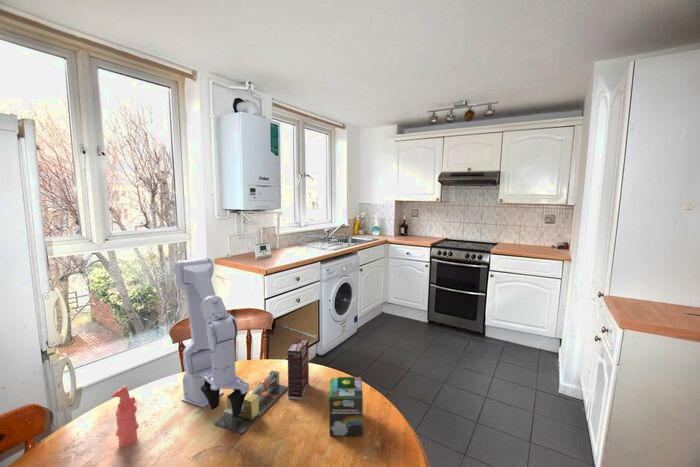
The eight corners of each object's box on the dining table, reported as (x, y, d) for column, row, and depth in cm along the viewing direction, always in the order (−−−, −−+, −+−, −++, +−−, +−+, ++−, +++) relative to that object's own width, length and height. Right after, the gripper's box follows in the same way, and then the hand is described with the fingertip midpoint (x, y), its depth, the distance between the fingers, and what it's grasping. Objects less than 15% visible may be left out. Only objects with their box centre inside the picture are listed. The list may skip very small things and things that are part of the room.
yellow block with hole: (252, 420, 88) (251, 401, 88) (227, 412, 91) (226, 394, 91) (258, 413, 91) (258, 395, 90) (234, 405, 94) (234, 388, 94)
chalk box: (362, 413, 92) (362, 365, 91) (363, 437, 83) (363, 384, 82) (330, 413, 92) (330, 365, 91) (328, 437, 83) (328, 384, 82)
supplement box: (302, 400, 98) (301, 352, 96) (287, 399, 99) (286, 351, 97) (309, 384, 107) (309, 339, 105) (295, 383, 107) (295, 338, 105)
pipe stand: (242, 434, 84) (241, 416, 83) (214, 424, 88) (213, 407, 87) (288, 388, 104) (287, 373, 104) (264, 381, 108) (263, 367, 107)
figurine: (121, 452, 78) (116, 395, 76) (111, 443, 81) (106, 389, 79) (143, 438, 82) (139, 385, 81) (134, 431, 85) (129, 379, 83)
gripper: (190, 365, 82) (193, 413, 84) (234, 377, 77) (236, 428, 78) (211, 353, 89) (214, 398, 90) (253, 363, 83) (255, 411, 85)
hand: (225, 411), depth 85 cm, fingers open, 7 cm apart
